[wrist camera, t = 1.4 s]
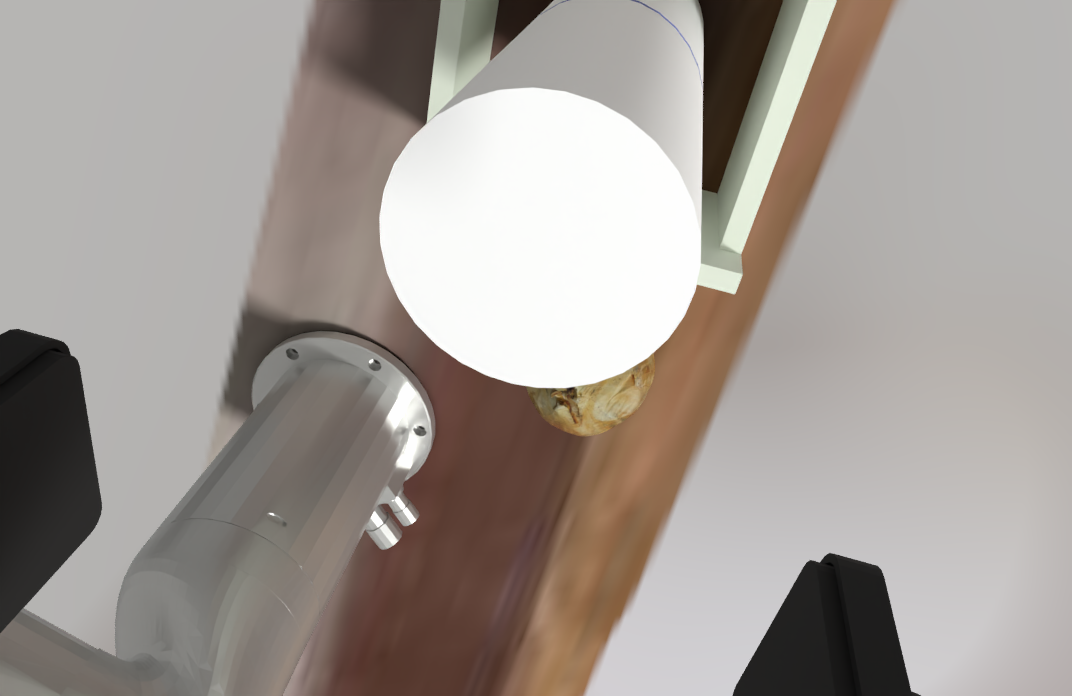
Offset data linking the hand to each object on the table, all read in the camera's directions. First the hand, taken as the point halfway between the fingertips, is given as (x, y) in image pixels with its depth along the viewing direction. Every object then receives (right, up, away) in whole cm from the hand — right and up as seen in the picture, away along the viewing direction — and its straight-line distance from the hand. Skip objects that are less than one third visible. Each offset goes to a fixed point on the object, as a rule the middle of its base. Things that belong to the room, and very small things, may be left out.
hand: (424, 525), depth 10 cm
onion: (+5, +3, +38) cm, 38 cm away
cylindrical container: (+6, +17, +28) cm, 34 cm away
